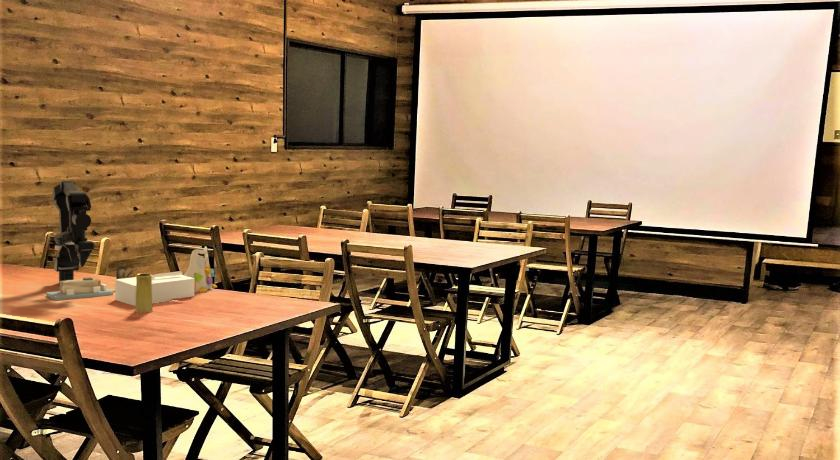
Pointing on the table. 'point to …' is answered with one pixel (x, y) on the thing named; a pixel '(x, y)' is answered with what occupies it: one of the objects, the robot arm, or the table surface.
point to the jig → (72, 295)
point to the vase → (143, 293)
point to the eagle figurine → (122, 273)
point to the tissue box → (156, 288)
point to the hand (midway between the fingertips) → (77, 264)
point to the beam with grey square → (80, 285)
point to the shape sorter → (200, 271)
